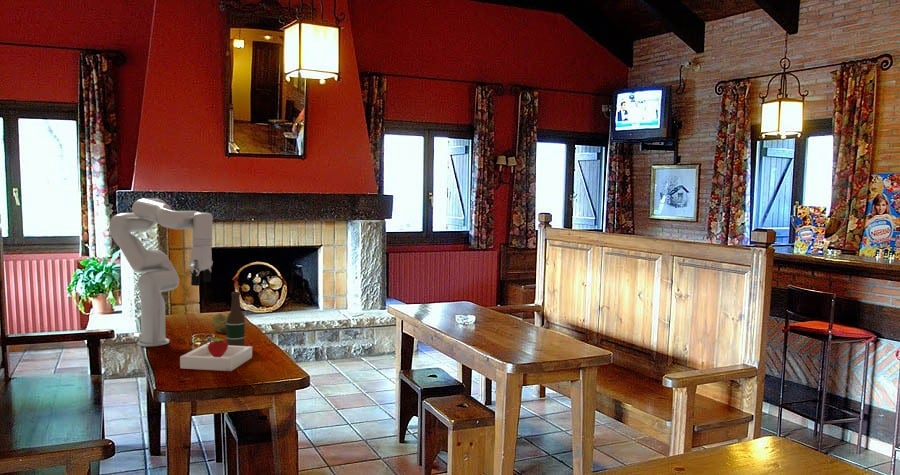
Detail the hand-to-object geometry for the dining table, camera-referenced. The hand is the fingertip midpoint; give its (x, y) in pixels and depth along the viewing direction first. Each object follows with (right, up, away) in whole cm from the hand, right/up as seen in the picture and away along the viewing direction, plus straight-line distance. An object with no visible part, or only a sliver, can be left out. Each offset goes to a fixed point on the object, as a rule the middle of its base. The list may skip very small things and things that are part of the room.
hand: (201, 283), depth 270 cm
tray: (+12, -30, -14) cm, 35 cm away
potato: (-5, -26, +39) cm, 47 cm away
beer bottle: (+11, -28, +10) cm, 32 cm away
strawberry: (+12, -29, -14) cm, 35 cm away
